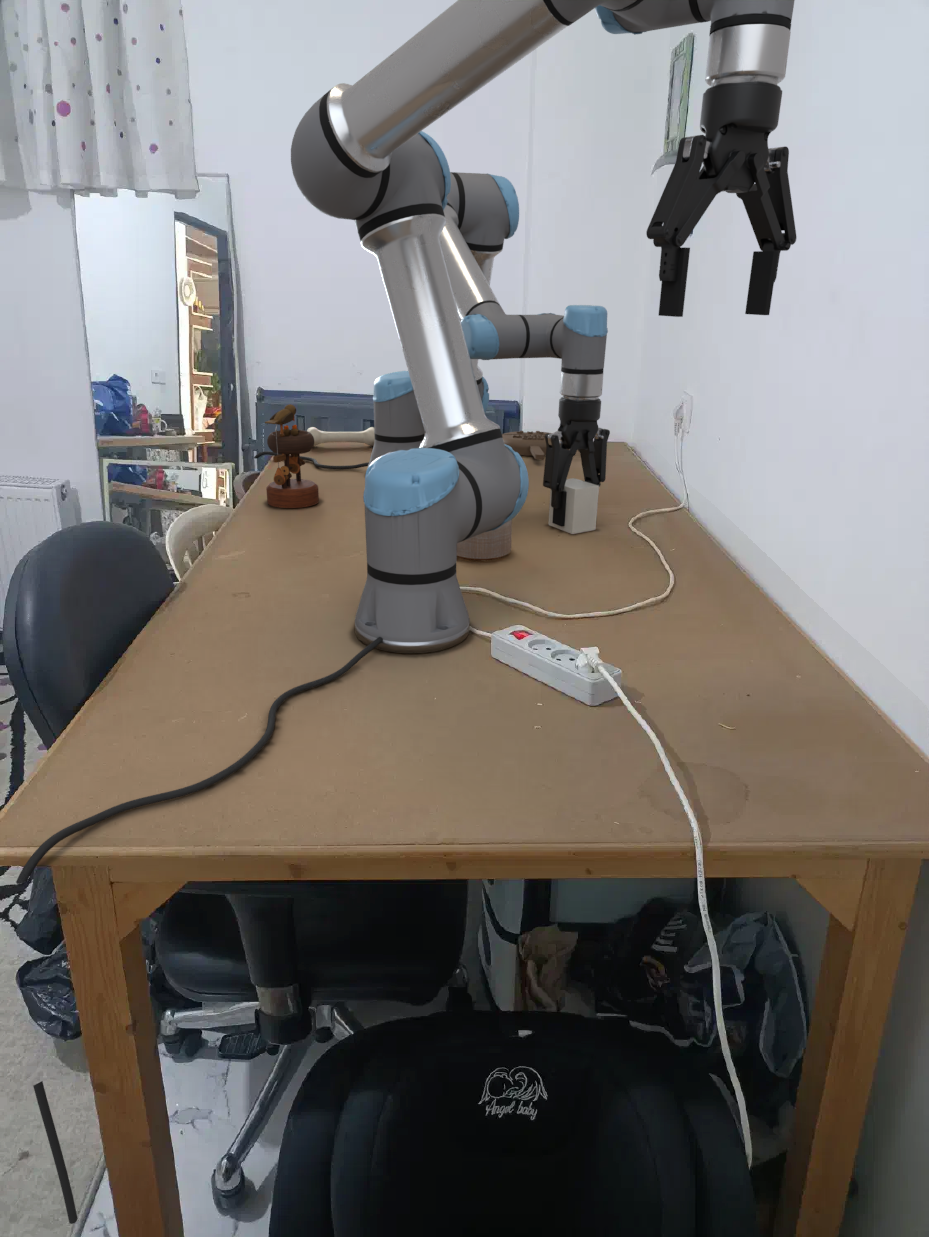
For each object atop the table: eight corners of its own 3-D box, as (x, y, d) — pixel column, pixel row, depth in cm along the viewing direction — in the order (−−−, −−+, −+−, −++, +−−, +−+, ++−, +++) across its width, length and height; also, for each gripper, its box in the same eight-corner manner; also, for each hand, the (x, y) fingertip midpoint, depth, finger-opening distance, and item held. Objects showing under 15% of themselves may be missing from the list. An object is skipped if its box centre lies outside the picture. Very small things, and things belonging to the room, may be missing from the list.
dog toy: (379, 443, 235) (378, 424, 233) (380, 447, 230) (380, 428, 228) (305, 444, 232) (304, 425, 230) (305, 448, 226) (304, 429, 225)
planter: (440, 545, 148) (440, 491, 144) (498, 541, 151) (500, 488, 148) (458, 564, 139) (459, 507, 135) (520, 559, 142) (522, 503, 138)
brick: (571, 520, 165) (574, 478, 162) (595, 530, 159) (599, 485, 156) (548, 525, 162) (550, 481, 159) (572, 534, 156) (575, 489, 153)
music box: (311, 511, 168) (297, 408, 160) (258, 513, 169) (241, 411, 162) (331, 492, 182) (318, 397, 174) (282, 494, 183) (267, 400, 176)
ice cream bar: (498, 464, 211) (498, 448, 209) (490, 443, 237) (490, 428, 235) (581, 465, 212) (583, 448, 210) (564, 444, 238) (565, 429, 236)
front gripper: (792, 106, 92) (762, 312, 100) (622, 76, 80) (604, 315, 88) (853, 96, 87) (817, 315, 95) (681, 61, 74) (657, 318, 82)
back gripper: (605, 391, 159) (596, 511, 168) (525, 397, 149) (520, 524, 158) (633, 396, 153) (622, 520, 162) (552, 403, 144) (545, 534, 153)
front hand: (715, 315), depth 91 cm, fingers open, 13 cm apart
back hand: (571, 521), depth 160 cm, fingers closed on brick, 6 cm apart
